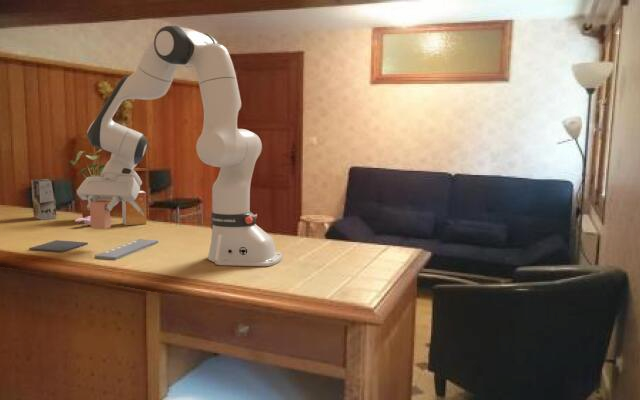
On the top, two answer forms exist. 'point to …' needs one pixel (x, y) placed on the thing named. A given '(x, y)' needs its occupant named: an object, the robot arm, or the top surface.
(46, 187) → the coffee box
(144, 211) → the small box
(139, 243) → the plate
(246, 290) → the top surface
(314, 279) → the top surface
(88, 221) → the rabbit figure
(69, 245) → the mat
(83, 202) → the potted plant
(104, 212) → the stub block
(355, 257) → the top surface
